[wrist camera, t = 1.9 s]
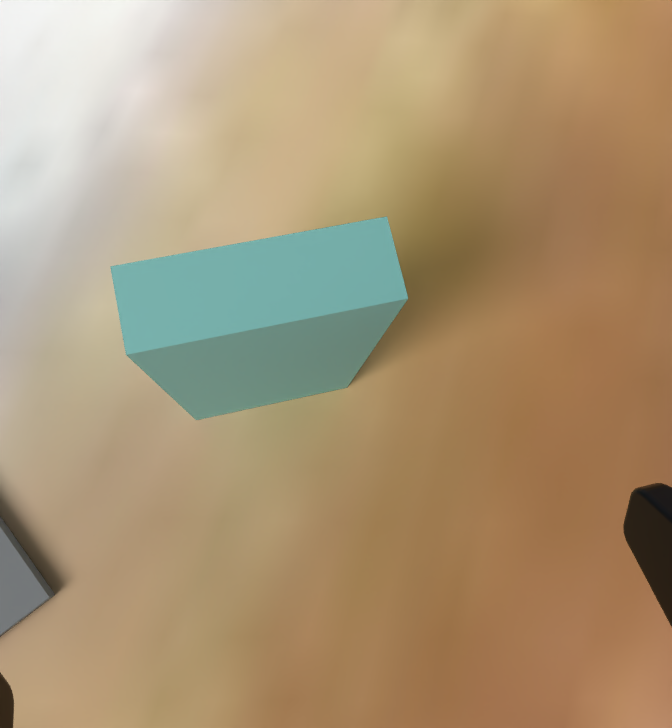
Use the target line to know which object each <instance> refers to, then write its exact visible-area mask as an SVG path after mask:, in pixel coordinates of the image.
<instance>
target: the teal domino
mask: <svg viewBox="0 0 672 728" xmlns="http://www.w3.org/2000/svg"><path fill="white" fill-rule="evenodd" d="M111 272H112V278H113V284H114V289H115V295H116V301H117V306H118V312H119V318H120V323H121V329H122V334H123V340H124V346H125V351H126V355H127V356H128V357H129V358H130V359H131V360H132V361H133V362H134V363H135V364H137V365H138V366H139V367H140V368H141V369H142V370H143V371H144V372H145V373H146V374H147V375H148V376H149V377H150V378H152V379H153V380H154V381H155V382H156V383H157V384H158V385H159V386H160V387H161V388H162V389H163V390H164V391H165V392H167V393H168V394H169V395H170V396H171V397H172V398H173V399H174V400H175V401H176V402H177V403H178V404H179V405H180V406H182V407H183V408H184V409H185V410H186V411H187V412H188V413H189V414H190V415H191V416H192V417H193V418H194V419H195V420H199V419H204V418H208V417H213V416H218V415H222V414H227V413H232V412H236V411H241V410H245V409H250V408H255V407H259V406H264V405H269V404H273V403H278V402H283V401H287V400H292V399H296V398H301V397H306V396H310V395H315V394H320V393H324V392H329V391H333V390H338V389H343V388H347V387H348V385H349V384H350V382H351V381H352V380H353V378H354V377H355V375H356V374H357V372H358V371H359V369H360V368H361V366H362V365H363V364H364V362H365V361H366V359H367V358H368V356H369V355H370V353H371V352H372V350H373V349H374V348H375V346H376V345H377V343H378V342H379V340H380V339H381V337H382V336H383V334H384V333H385V332H386V330H387V329H388V327H389V326H390V324H391V323H392V321H393V320H394V318H395V317H396V316H397V314H398V313H399V311H400V310H401V308H402V307H403V305H404V304H405V302H406V301H407V300H408V296H407V292H406V288H405V284H404V280H403V276H402V273H401V269H400V265H399V261H398V257H397V253H396V249H395V246H394V242H393V238H392V234H391V230H390V226H389V223H388V219H387V217H382V218H376V219H371V220H365V221H360V222H354V223H348V224H343V225H337V226H332V227H326V228H321V229H315V230H310V231H304V232H299V233H293V234H288V235H282V236H277V237H271V238H266V239H260V240H254V241H249V242H243V243H238V244H232V245H227V246H221V247H216V248H210V249H205V250H199V251H194V252H188V253H183V254H177V255H172V256H166V257H160V258H155V259H149V260H144V261H138V262H133V263H127V264H122V265H116V266H111Z"/></svg>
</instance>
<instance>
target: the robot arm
mask: <svg viewBox="0 0 672 728" xmlns="http://www.w3.org/2000/svg"><path fill="white" fill-rule="evenodd" d="M624 535H625V538H626V541H627V543H628V545H629V547H630V549H631V551H632V553H633V554H634V556H635V558H636V560H637V562H638V564H639V566H640V568H641V570H642V572H643V573H644V575H645V577H646V579H647V581H648V583H649V585H650V587H651V589H652V591H653V592H654V594H655V596H656V598H657V600H658V602H659V604H660V606H661V608H662V610H663V611H664V613H665V615H666V617H667V619H668V621H669V623H670V625H671V626H672V487H670V486H668V485H665V484H662V483H655V484H651V485H647V486H643V487H639V488H636V489H635V490H634V491H633V492H632V493H631V496H630V500H629V504H628V509H627V513H626V517H625V521H624ZM13 715H14V699H13V693H12V690H11V687H10V685H9V684H8V682H7V681H6V680H5V678H4V677H3V675H2V674H1V673H0V728H13Z"/></svg>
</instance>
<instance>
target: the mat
mask: <svg viewBox="0 0 672 728" xmlns="http://www.w3.org/2000/svg"><path fill="white" fill-rule="evenodd" d="M54 595H55V594H54V592H53V591H52V590H51V588H50V587H49V585H48V584H47V582H46V581H45V580H44V578H43V577H42V575H41V574H40V572H39V571H38V570H37V568H36V567H35V565H34V564H33V562H32V561H31V560H30V558H29V557H28V555H27V554H26V552H25V551H24V550H23V548H22V547H21V545H20V544H19V542H18V541H17V540H16V538H15V537H14V535H13V534H12V532H11V531H10V529H9V528H8V527H7V525H6V524H5V522H4V521H3V519H2V518H1V517H0V636H2V635H3V634H4V633H6V632H7V631H8V630H9V629H11V628H12V627H13V626H15V625H16V624H17V623H19V622H20V621H21V620H23V619H24V618H25V617H27V616H28V615H29V614H31V613H32V612H33V611H34V610H36V609H37V608H38V607H40V606H41V605H42V604H44V603H45V602H46V601H48V600H49V599H50V598H52V597H53V596H54Z"/></svg>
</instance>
